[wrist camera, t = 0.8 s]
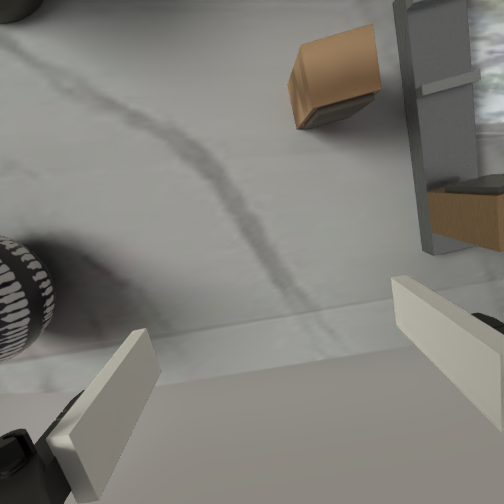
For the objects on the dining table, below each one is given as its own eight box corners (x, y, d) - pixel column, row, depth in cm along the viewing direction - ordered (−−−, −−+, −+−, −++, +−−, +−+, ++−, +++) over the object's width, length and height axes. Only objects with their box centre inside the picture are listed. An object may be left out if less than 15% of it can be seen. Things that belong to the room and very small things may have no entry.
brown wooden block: (287, 84, 33) (300, 44, 24) (337, 70, 33) (372, 23, 23) (297, 134, 35) (314, 115, 25) (346, 120, 34) (382, 96, 25)
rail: (392, 3, 31) (480, -111, 19) (448, -14, 31) (573, -141, 19) (422, 250, 38) (501, 282, 26) (468, 239, 38) (570, 267, 25)
